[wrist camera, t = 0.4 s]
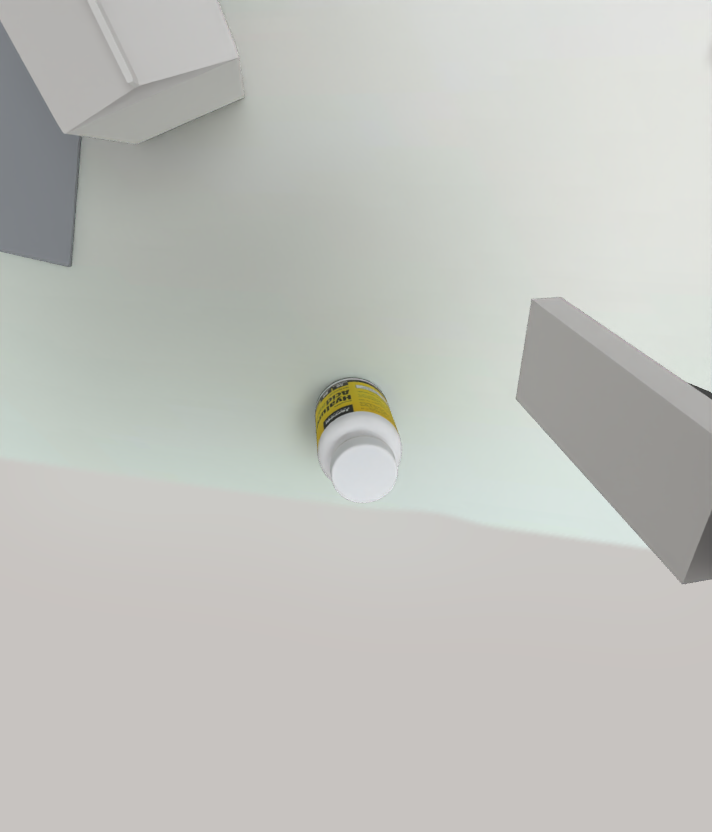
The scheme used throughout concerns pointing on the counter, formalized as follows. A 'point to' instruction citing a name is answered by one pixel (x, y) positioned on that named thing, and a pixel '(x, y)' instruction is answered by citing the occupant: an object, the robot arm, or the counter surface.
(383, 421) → the supplement bottle
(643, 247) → the counter surface
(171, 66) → the milk carton
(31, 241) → the mat
